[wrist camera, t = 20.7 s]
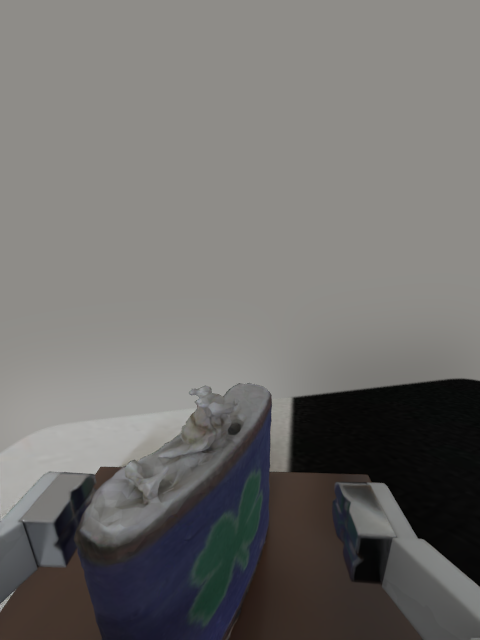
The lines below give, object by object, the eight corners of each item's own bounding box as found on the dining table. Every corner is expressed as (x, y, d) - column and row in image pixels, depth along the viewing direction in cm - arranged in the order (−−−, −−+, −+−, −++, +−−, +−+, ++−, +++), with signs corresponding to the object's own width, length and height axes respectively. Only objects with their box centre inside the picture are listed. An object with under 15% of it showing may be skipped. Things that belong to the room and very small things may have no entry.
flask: (242, 496, 16) (242, 346, 14) (283, 522, 15) (293, 358, 12) (104, 699, 9) (39, 464, 6) (157, 793, 8) (103, 537, 5)
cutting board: (365, 490, 19) (367, 474, 18) (604, 989, 6) (631, 975, 6) (103, 481, 19) (100, 466, 19) (-167, 909, 7) (-194, 890, 6)
